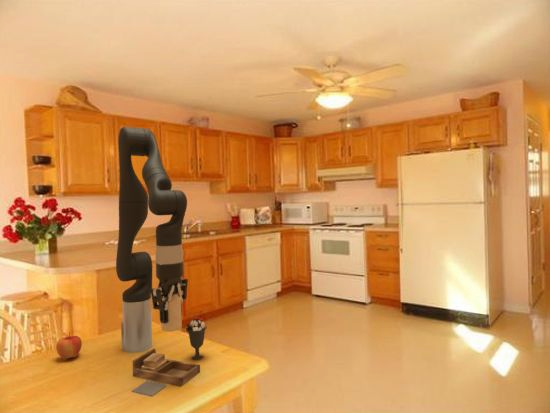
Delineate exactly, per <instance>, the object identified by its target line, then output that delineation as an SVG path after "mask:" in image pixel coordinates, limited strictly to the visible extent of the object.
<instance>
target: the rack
mask: <svg viewBox="0 0 550 413" xmlns="http://www.w3.org/2000/svg"><path fill="white" fill-rule="evenodd" d="M156 349H157V348H152V349H149V350H147V352H144V353H143V354H141V355H140V356H138V357H136V358H134V359H133V360H132V377H136V378H141V379H146V380H147V381H152V382H157V383H161V384H166V385H172V386H177V387H183V386H184V385H186V384H187V383H188V382H189V381H190V380H192V379H193V378H195V377H196V376H197V375H198V374H199V373H200V372H201V365H200V364H197V363H192V362H186V361H180V360H175V359H169V358H165V360H167V364H166V365H164V366H163V367H161V368H159V369H158V370H156V371H155V372H153V371H148V370H144V369H141V367H142V366H143V365H144V360H145V359H146V358H147V357H149V356H150V355H152V354H153V353H157V350H156Z"/></svg>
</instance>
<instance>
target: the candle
mask: <svg viewBox="0 0 550 413" xmlns="http://www.w3.org/2000/svg"><path fill="white" fill-rule="evenodd" d="M163 298H167V297H164V296H163ZM164 304H165V301H163V305H164ZM167 310H168V323H166V324H165V323H161V322H160V323H161V331H164V332H169V333H170V332H177V331H179V330H181V329H182V323H183V322H182V315H181V298H180V297H179V296H178V295H177V294H174V295H173V296H172V298H171V301H170V302H169V305H168V309H167Z"/></svg>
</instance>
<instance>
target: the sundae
mask: <svg viewBox="0 0 550 413" xmlns="http://www.w3.org/2000/svg"><path fill="white" fill-rule="evenodd" d="M202 313H203V311H202V310H200V311H199V313H198V315H197V316H195V317H194V318H193V319H192V320H191V321H190V323H187V324H186V326H187V327H186V328H185V330H186V333H188V337H189V342H190V347H192V348H193V349H195V353H194V355H193V356H192V357H191V358H190V360H192V361H201V360H203V359H204V355H201V354H200V348H201V347H202V346H203V345H204V342H205V333H206V329H207V328H208V326H206V324H205V322H204V321H203V318H202V316H201V315H202ZM199 316H200V318H199Z"/></svg>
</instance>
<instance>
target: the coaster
mask: <svg viewBox="0 0 550 413" xmlns="http://www.w3.org/2000/svg"><path fill="white" fill-rule="evenodd" d="M167 386H168V384H167V383H162V382H157V381H153V380H146V381H144V382H142V383H141V384H140V385H138V386H137V387H135V388H134V389H132V390H131V391H130V392H131V393H136V394H138V395H139V394H140V395H144V396H148V397H154V396H156V395H157V394H158V393H159V392H161V391H163V389H165V388H166V387H167Z"/></svg>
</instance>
